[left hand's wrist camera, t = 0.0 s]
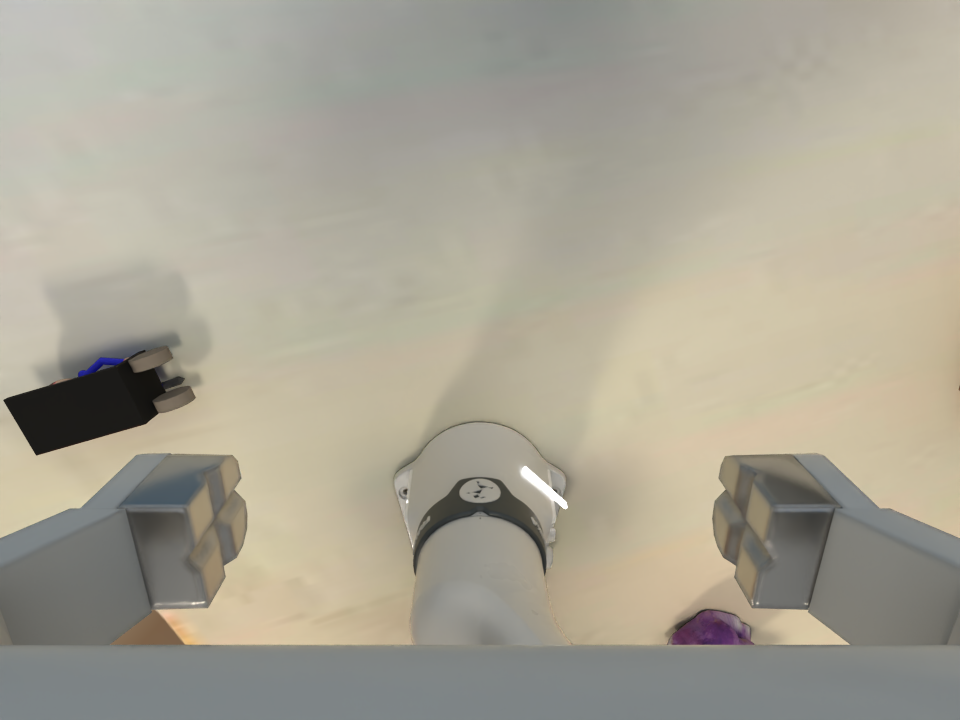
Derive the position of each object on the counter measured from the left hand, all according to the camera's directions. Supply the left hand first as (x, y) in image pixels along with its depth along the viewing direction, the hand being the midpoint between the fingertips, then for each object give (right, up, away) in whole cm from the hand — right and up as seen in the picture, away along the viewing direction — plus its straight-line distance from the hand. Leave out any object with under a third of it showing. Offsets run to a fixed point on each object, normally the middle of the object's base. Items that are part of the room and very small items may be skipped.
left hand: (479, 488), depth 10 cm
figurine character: (-36, 0, +51) cm, 63 cm away
